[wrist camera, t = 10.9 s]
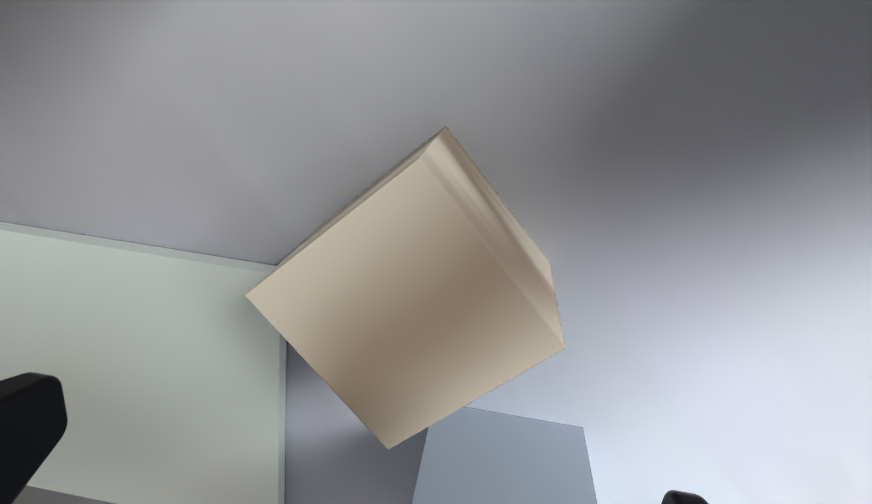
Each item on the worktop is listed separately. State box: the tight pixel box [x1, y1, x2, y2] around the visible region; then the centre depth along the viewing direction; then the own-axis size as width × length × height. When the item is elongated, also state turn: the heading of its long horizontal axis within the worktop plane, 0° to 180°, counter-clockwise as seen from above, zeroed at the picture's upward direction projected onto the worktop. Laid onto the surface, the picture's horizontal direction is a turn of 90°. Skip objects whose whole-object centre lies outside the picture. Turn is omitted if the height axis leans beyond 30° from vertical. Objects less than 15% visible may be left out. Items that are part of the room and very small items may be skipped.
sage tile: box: [0, 222, 286, 504], centre depth 19 cm, size 11×11×1 cm
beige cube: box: [245, 127, 565, 450], centre depth 14 cm, size 5×5×5 cm
